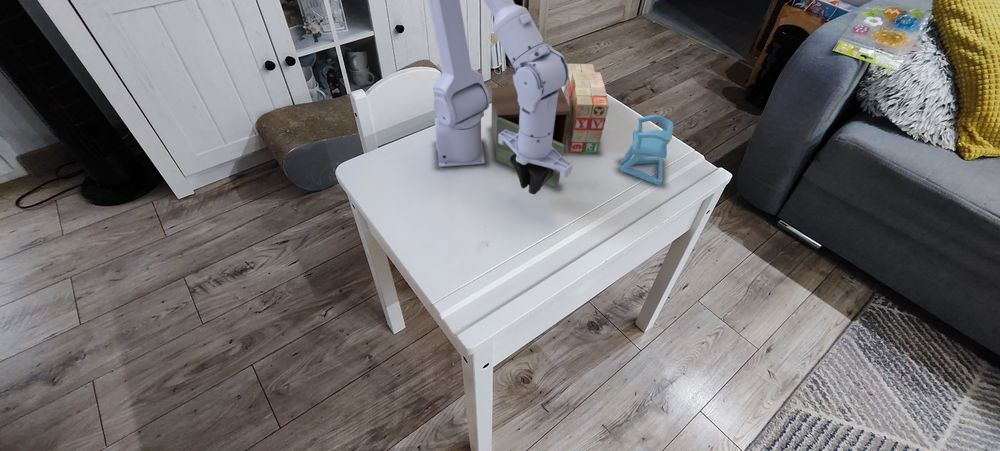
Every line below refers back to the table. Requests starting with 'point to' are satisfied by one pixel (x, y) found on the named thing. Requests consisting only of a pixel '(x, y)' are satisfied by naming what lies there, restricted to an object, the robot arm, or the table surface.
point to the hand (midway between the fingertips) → (530, 188)
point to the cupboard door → (506, 152)
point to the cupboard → (509, 110)
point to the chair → (648, 148)
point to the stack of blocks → (585, 108)
